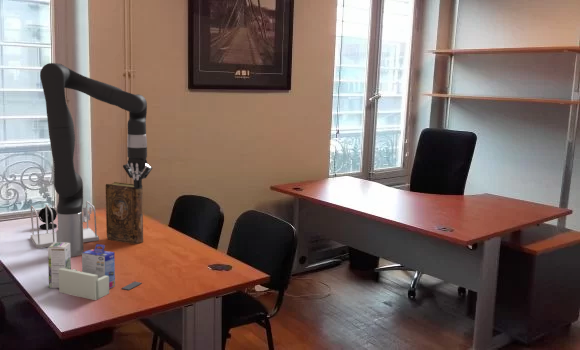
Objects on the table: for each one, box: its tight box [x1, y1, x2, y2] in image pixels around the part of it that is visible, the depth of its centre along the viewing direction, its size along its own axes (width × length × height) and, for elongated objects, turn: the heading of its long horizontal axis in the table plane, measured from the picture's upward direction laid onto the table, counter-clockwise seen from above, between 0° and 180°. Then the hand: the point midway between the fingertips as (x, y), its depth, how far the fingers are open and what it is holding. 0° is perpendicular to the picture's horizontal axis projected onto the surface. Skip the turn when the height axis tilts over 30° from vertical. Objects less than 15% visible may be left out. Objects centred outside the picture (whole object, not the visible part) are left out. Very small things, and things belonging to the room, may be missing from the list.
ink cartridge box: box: [81, 243, 116, 290], centre depth 188 cm, size 10×6×14 cm, turn 70°
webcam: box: [38, 206, 58, 231], centre depth 259 cm, size 8×8×10 cm
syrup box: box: [47, 242, 72, 289], centre depth 188 cm, size 6×6×14 cm
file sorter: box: [30, 200, 100, 249], centre depth 241 cm, size 25×17×16 cm
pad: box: [121, 281, 143, 291], centre depth 190 cm, size 3×7×1 cm, turn 157°
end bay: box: [58, 268, 110, 301], centre depth 183 cm, size 15×6×8 cm, turn 67°
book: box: [105, 181, 144, 245], centre depth 241 cm, size 16×6×25 cm, turn 68°
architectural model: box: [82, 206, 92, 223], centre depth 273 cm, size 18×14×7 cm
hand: (137, 188), depth 221 cm, fingers closed
